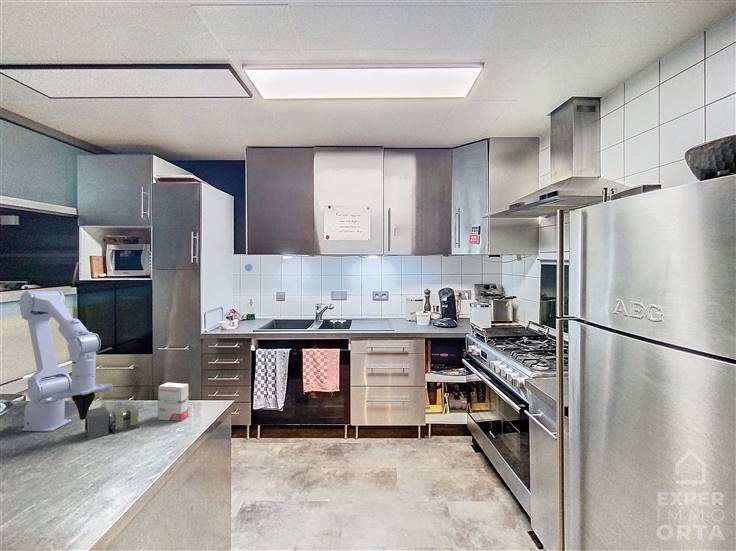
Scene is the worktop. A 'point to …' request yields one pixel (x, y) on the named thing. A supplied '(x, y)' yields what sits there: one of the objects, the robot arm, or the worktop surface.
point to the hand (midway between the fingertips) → (82, 418)
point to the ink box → (173, 401)
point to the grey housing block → (97, 423)
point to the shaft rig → (123, 419)
